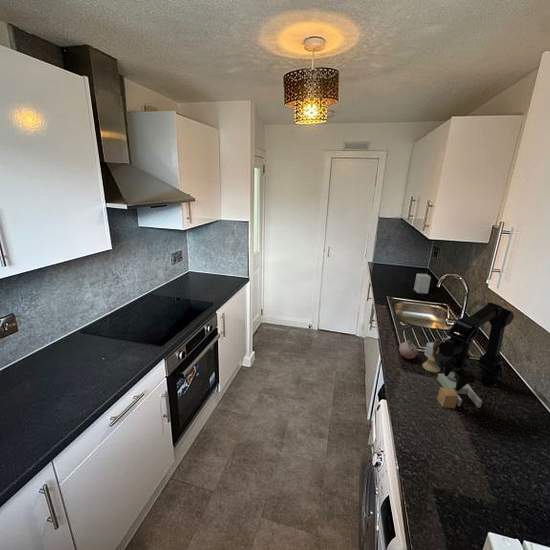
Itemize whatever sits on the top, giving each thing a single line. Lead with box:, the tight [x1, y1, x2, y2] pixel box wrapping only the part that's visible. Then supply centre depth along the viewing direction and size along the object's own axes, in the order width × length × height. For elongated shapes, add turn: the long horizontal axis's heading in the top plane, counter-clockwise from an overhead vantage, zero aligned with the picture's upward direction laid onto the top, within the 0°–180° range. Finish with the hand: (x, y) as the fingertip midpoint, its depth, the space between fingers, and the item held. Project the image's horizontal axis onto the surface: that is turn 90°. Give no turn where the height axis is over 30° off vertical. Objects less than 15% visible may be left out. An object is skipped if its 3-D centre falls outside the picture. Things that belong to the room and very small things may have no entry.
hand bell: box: [421, 338, 441, 373], centre depth 149 cm, size 8×8×16 cm
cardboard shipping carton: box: [436, 387, 459, 409], centre depth 126 cm, size 5×5×6 cm
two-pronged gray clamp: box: [436, 371, 483, 409], centre depth 133 cm, size 18×10×5 cm, turn 177°
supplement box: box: [413, 273, 432, 295], centre depth 256 cm, size 9×9×15 cm
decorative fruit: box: [398, 339, 418, 360], centre depth 157 cm, size 9×8×10 cm
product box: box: [423, 342, 439, 358], centre depth 159 cm, size 6×6×7 cm
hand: (451, 383), depth 124 cm, fingers open, 9 cm apart
